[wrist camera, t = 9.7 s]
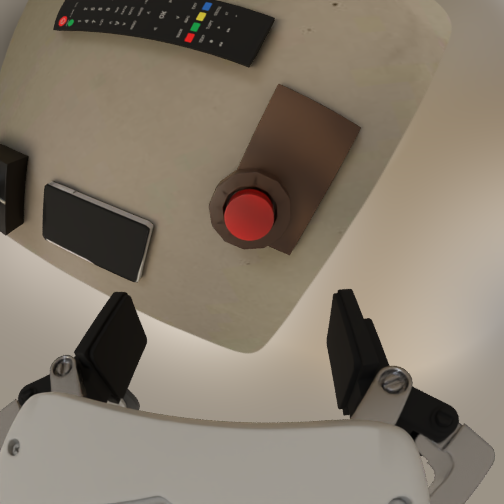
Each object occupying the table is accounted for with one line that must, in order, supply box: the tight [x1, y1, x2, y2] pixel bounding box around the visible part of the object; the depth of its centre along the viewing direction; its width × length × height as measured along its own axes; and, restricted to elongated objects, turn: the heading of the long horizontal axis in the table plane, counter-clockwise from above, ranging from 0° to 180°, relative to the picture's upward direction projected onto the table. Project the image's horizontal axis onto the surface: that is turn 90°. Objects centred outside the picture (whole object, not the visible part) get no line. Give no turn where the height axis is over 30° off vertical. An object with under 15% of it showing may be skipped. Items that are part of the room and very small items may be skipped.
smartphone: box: [43, 181, 153, 282], centre depth 28 cm, size 8×1×15 cm
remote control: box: [53, 0, 275, 67], centre depth 16 cm, size 5×24×1 cm, turn 66°
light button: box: [224, 189, 274, 241], centre depth 23 cm, size 4×4×2 cm
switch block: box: [209, 84, 361, 255], centre depth 23 cm, size 14×9×3 cm, turn 156°
